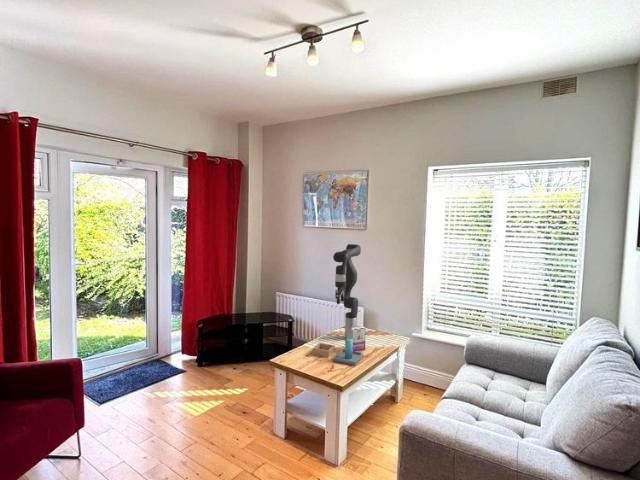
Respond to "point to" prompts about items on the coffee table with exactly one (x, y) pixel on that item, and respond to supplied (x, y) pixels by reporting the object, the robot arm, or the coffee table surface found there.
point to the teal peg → (348, 348)
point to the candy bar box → (357, 338)
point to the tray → (353, 361)
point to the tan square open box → (324, 350)
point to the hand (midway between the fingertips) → (340, 302)
